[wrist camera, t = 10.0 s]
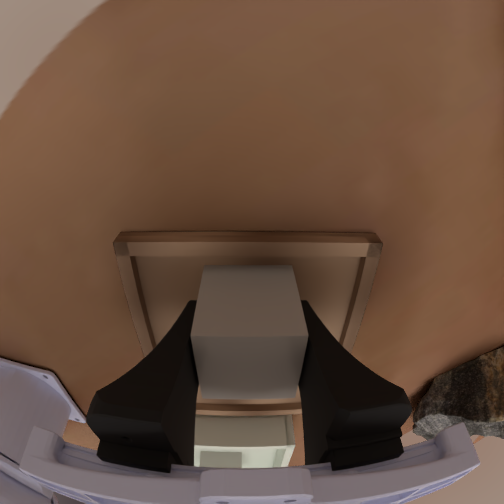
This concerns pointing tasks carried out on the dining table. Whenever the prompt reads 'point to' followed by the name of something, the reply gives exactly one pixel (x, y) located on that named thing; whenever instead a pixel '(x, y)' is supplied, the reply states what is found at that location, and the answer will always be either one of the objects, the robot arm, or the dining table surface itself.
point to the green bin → (247, 438)
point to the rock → (465, 399)
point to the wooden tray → (246, 253)
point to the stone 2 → (248, 332)
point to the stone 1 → (220, 459)
